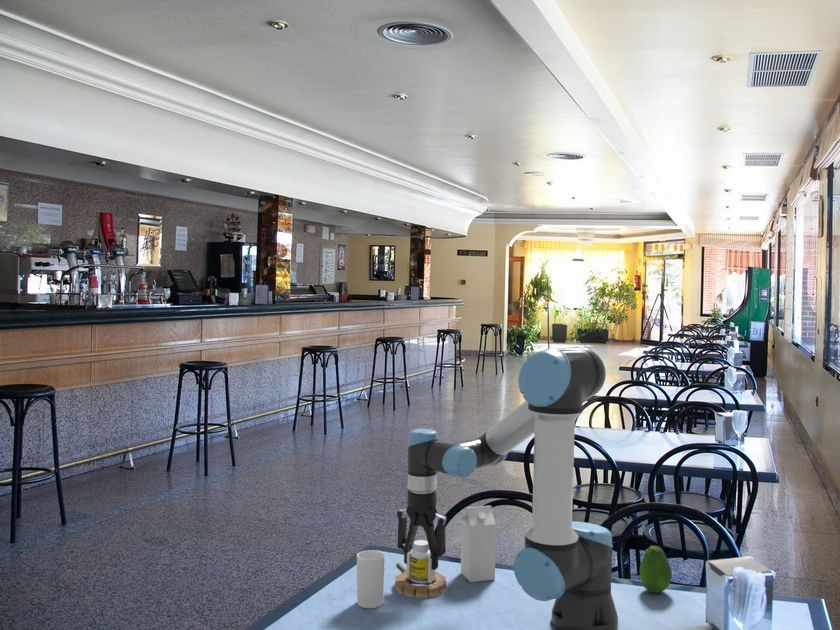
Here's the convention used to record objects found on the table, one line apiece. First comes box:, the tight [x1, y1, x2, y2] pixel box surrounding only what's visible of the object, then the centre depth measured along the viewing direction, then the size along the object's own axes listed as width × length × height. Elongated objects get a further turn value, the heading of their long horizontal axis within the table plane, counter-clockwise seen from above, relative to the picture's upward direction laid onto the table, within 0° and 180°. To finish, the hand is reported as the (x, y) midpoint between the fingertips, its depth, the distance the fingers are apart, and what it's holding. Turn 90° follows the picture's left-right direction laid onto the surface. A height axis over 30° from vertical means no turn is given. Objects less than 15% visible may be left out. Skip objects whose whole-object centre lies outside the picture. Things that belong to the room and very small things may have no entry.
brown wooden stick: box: [396, 562, 407, 573], centre depth 209 cm, size 10×1×1 cm, turn 22°
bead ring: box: [394, 571, 447, 599], centre depth 198 cm, size 13×13×2 cm
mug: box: [356, 549, 385, 609], centre depth 189 cm, size 10×7×12 cm, turn 168°
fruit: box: [639, 545, 673, 594], centre depth 197 cm, size 8×8×12 cm
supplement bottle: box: [410, 539, 431, 584], centre depth 198 cm, size 5×5×10 cm
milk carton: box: [460, 505, 497, 583], centre depth 206 cm, size 7×7×19 cm
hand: (420, 578), depth 198 cm, fingers closed on supplement bottle, 5 cm apart
